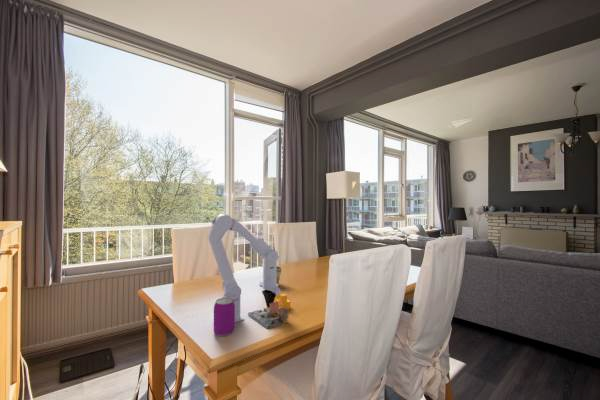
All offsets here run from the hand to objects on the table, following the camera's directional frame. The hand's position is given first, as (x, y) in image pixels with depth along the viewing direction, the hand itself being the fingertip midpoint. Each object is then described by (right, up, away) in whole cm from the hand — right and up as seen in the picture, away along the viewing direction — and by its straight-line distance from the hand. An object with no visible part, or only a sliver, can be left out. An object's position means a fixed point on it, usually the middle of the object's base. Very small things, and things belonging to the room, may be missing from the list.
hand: (269, 306), depth 126 cm
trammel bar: (0, -3, -5) cm, 6 cm away
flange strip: (-2, -3, -7) cm, 7 cm away
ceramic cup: (-2, -3, +43) cm, 43 cm away
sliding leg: (0, -1, -5) cm, 5 cm away
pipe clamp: (+5, -3, +11) cm, 12 cm away
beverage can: (-15, -3, -18) cm, 24 cm away
